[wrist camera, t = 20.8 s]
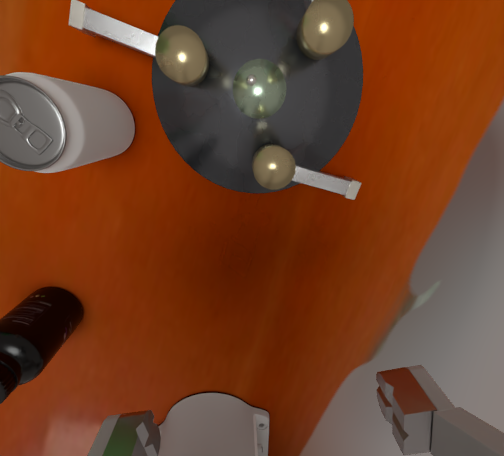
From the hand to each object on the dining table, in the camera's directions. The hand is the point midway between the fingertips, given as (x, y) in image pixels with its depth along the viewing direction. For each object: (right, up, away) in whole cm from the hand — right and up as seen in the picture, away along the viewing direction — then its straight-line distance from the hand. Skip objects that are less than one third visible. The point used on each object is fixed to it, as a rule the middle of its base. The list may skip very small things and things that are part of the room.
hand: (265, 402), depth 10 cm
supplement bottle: (-26, -4, +26) cm, 37 cm away
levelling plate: (0, +20, +18) cm, 27 cm away
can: (-16, +17, +19) cm, 30 cm away
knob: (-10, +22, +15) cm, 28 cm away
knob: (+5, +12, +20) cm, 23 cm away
